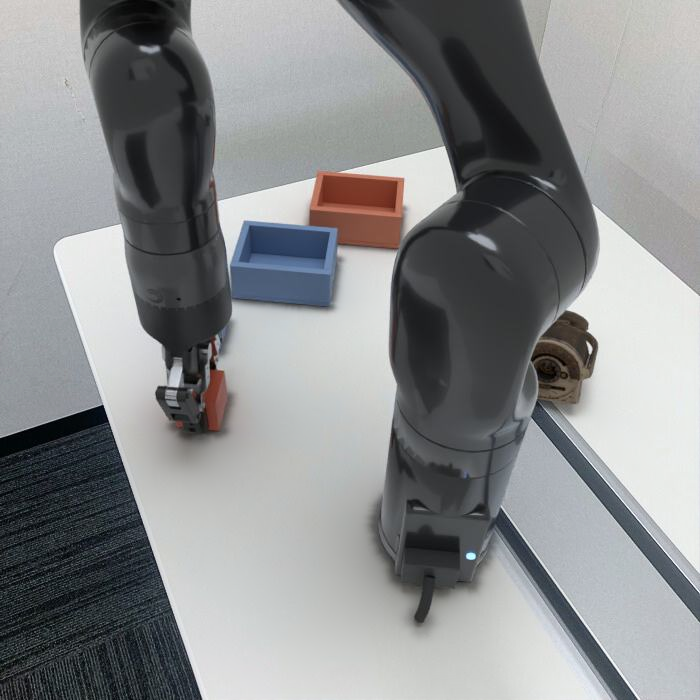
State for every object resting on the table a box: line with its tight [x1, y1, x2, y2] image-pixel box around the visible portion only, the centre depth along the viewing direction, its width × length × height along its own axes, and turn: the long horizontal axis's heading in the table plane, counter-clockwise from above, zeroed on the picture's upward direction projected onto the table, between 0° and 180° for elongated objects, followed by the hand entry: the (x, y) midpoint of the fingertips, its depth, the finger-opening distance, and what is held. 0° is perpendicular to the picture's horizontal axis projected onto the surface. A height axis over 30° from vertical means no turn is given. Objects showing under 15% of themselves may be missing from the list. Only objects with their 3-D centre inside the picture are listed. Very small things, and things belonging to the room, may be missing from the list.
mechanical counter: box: [530, 309, 599, 405], centre depth 74 cm, size 7×13×10 cm
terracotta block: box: [175, 369, 229, 432], centre depth 70 cm, size 4×4×4 cm
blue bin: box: [229, 220, 338, 308], centre depth 83 cm, size 8×11×5 cm
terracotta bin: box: [308, 170, 405, 250], centre depth 90 cm, size 8×11×5 cm
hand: (202, 410), depth 71 cm, fingers closed on terracotta block, 4 cm apart
